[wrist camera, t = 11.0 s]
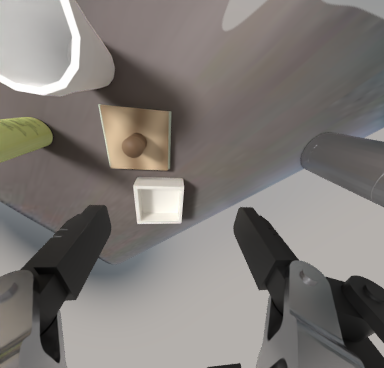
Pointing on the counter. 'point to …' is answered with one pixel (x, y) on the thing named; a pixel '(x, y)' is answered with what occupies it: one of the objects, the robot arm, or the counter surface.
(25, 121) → the tube
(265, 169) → the counter surface
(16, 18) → the foam cup
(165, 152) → the lid
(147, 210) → the dish
